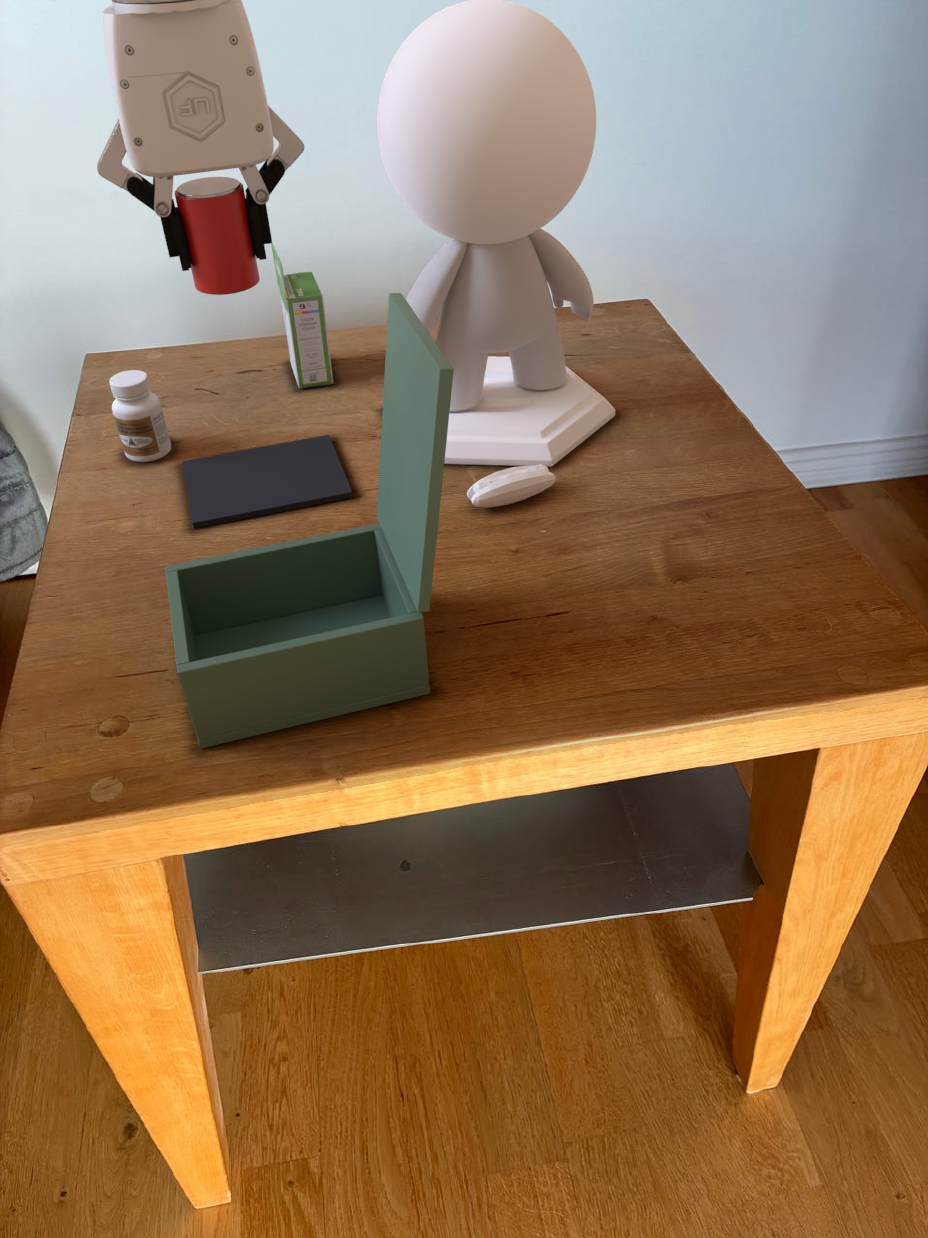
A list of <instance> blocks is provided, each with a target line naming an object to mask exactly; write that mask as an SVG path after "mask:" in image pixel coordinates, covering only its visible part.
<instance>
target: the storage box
mask: <svg viewBox="0 0 928 1238" xmlns="http://www.w3.org/2000/svg"><path fill="white" fill-rule="evenodd" d="M164 569H165V579H166V587H167V597H168V604H169V605H168V606H169V613H170V622H171V631H172V640H173V648H174V656H175V657H174V658H175V665H176V673H177V677H178V680H179V684H180V687H181V689H182V694H183V696H184V700H185V703H186V705H187V710H188V712H189V715H190V719H191V722H192V726H193V728H194V732H195V735H196V738H197V741H198V744H199V747H200V749H206V748H211V747H214V746H218V745H222V744H223V745H224V744H226V743H230V742H234V741H238V740H242V739H246V738H251V737H255V736H259V735H264V734H268V733H272V732H276V731H280V730H286V729H288V728H289V729H290V728H293V727H298V726H301V725H306V724H311V723H314V722H318V721H321V720H326V719H331V718H334V717H338V716H342V715H347V714H351V713H356V712H359V711H364V710H368V709H371V708H372V709H373V708H376V707H381V706H385V705H389V704H393V703H396V702H401V701H405V700H410V699H413V698H417V697H423V696H426V695H430V694H431V688H430V687H431V686H430V675H429V664H428V663H429V662H428V653H427V641H426V628H425V618H424V615H423V614H422V613H423V612H417V610H416V607H415V605H414V603H413V600H412V598H411V596H410V593H409V591H408V589H407V586H406V584H405V582H404V579H403V577H402V575H401V572H400V570H399V568H398V566H397V563H396V561H395V559H394V556H393V554H392V552H391V549H390V547H389V545H388V542H387V540H386V538H385V535H384V533H383V531H382V528H381V526H380V524H379V522H378V523H373V524H368V525H363V526H357V527H353V528H348V529H343V530H339V531H333V532H328V533H324V534H318V535H314V536H309V537H304V538H299V539H294V540H289V541H283V542H278V543H274V544H269V545H263V546H259V547H254V548H249V549H244V550H239V551H234V552H229V553H224V554H219V555H214V556H209V557H205V558H201V559H200V558H199V559H195V560H190V561H189V560H188V561H185V562H179V563H175V564H170V565H169V564H168V565H166V566H164Z"/></svg>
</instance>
